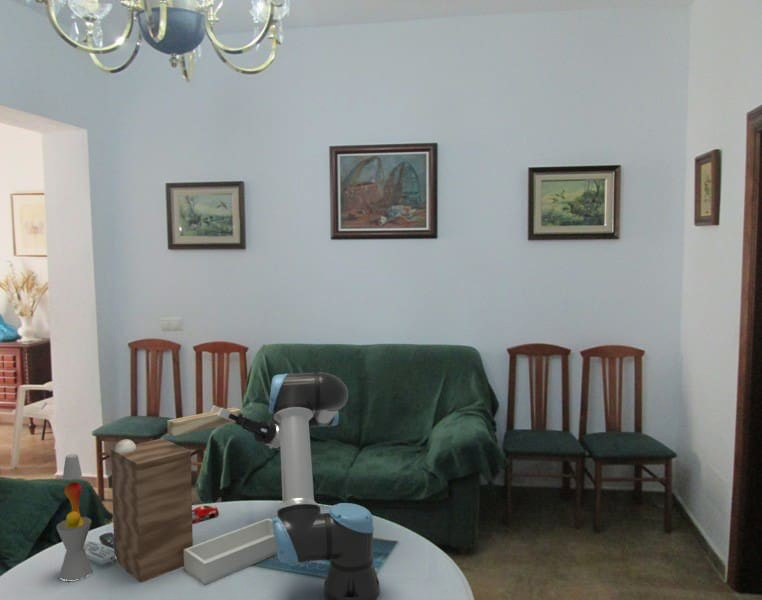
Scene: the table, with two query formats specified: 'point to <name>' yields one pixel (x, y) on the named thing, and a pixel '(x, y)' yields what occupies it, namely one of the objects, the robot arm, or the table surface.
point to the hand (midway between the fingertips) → (216, 410)
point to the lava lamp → (74, 526)
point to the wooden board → (198, 422)
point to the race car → (204, 513)
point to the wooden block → (151, 506)
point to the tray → (230, 552)
